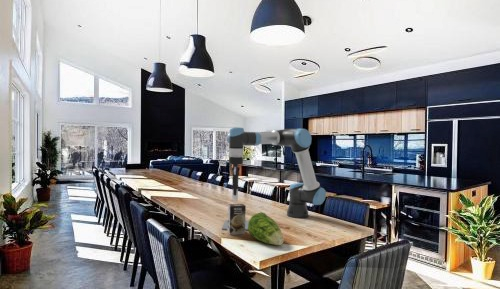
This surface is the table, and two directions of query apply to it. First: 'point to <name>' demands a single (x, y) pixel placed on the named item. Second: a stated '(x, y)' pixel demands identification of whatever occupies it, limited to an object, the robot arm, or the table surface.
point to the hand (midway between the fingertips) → (235, 200)
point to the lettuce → (265, 229)
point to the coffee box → (236, 219)
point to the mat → (225, 226)
